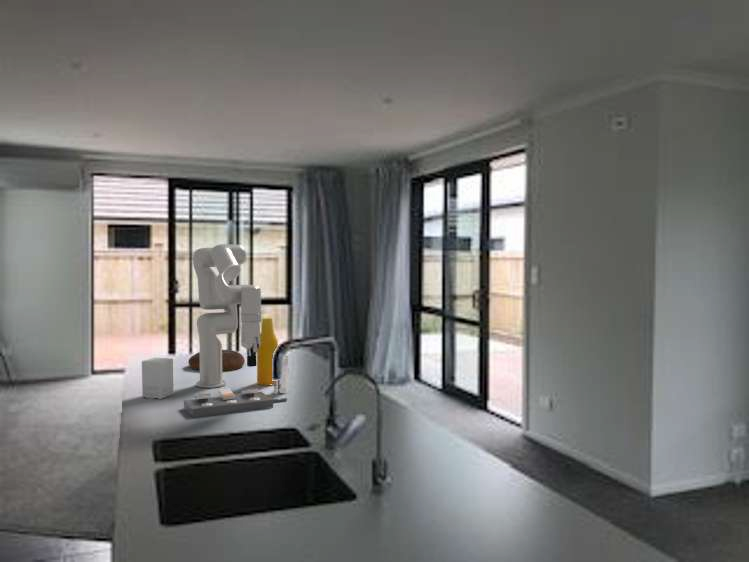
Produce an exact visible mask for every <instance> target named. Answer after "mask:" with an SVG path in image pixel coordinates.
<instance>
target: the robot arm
mask: <svg viewBox="0 0 749 562" xmlns="http://www.w3.org/2000/svg"><path fill="white" fill-rule="evenodd" d="M192 256H193V257H192V264H193V268H194V269H193V270H194V271H195V274H196V277H197V288H198V301H199V306H200V308H201V309H202V310H204V311H205V310H206V311H208V310H209V311H211V310H214V311H215V310H223V311H222V312H218V311H217V312H207V313H202V314H201V315H199V316H198V318H197V320H196V327H197V331H198V339H199V340H198V343H199V352H200V371H199V380H198V381H197V382H195V383H196V384H195V385H196V387H198V388H202V389H203V388H204V389H205V388H206V389H211V388H212V389H214V388H220V387H221V388H222V387H224V386H226V384H227V381H226V380H225V379H223V371H222V350H223V344H222V341H221V340H220V339H219V338H218V336H219V335H226V334H233V333H235V332H236V331H237V329H238V326H239V325H238V324H239V321H238V305H240V322H241V333H240V337H241V338H240V345H241V347H242V348H244V349H245V350H246V366H247V367H249V368H250V367H257V351H258V350H257V348H260V334H261V329H260V328H261V326H260V324H261V323H262V289H261V287H260V286H257V285H253V284H229V285H228V284H227V283H229V282H231V281H233V280H235V279H236V278H237V277H238V276H239V275H240V273H241V265H243V264H244V263H245V262H246V260H247V252H246V250H245V248H244V246H242V244H233V243H231V244H230V243H229V244H226V243H223V244H217V245H215V246H213V247H201V248H200V247H199V248H198V249H195V251H194V253H193V255H192ZM212 268H216V270H217V271H218V274H217V273H216V272H215V271H214V270H213V269H212Z"/></svg>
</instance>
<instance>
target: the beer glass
mask: <svg viewBox="0 0 749 562" xmlns="http://www.w3.org/2000/svg"><path fill="white" fill-rule="evenodd" d="M284 356H285V357H284V361H283V366H282V376H281V379H280V380H278V381H274V385H273V391H272V393H273V392H274V393H273V394H275V393H286V392H288V393H289V389H288V388H289V387H288V377H289V372H290V361H289V356H288V355H284ZM286 394H287V393H286Z"/></svg>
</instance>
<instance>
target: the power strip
mask: <svg viewBox="0 0 749 562" xmlns="http://www.w3.org/2000/svg"><path fill="white" fill-rule="evenodd" d="M234 395H235V399H227V400H223V399H222V397H221V395H220V396H211V397H206V398H197V399H195V398H193V399H186V400H185V399H184V400H183V409H184V408H185V409H184V410H185V411H186V412H187V413H188V414H189V415H190V416H191V417H192V418H199V417H198V416H200V417H205V416H204V415H208V416H213V414H216V415H222V413H224V414H230V413H231V412H232V413H238V412H239V411H240V412H246V411H247V410H248V411H254V409H256V410H262V408H264V409H270V408H269V407H272V408H274V403H279V402H278V401H282V402H287V401H288V398H287V397H282V398H272V397H270V396H268V395H267V394H266V393H264V392H262V391H258V392H251V393H242V394H240V393H239V394H234ZM286 400H287V401H286ZM196 416H197V417H196Z"/></svg>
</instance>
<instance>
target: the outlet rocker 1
mask: <svg viewBox="0 0 749 562" xmlns="http://www.w3.org/2000/svg"><path fill="white" fill-rule="evenodd" d="M218 394H219V395H220V396H221V397H222V399H223V400H227V399H235V395H236V394H235V393H234V392H233V390H231V388H230V387H228V388H219V389H218Z"/></svg>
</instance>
